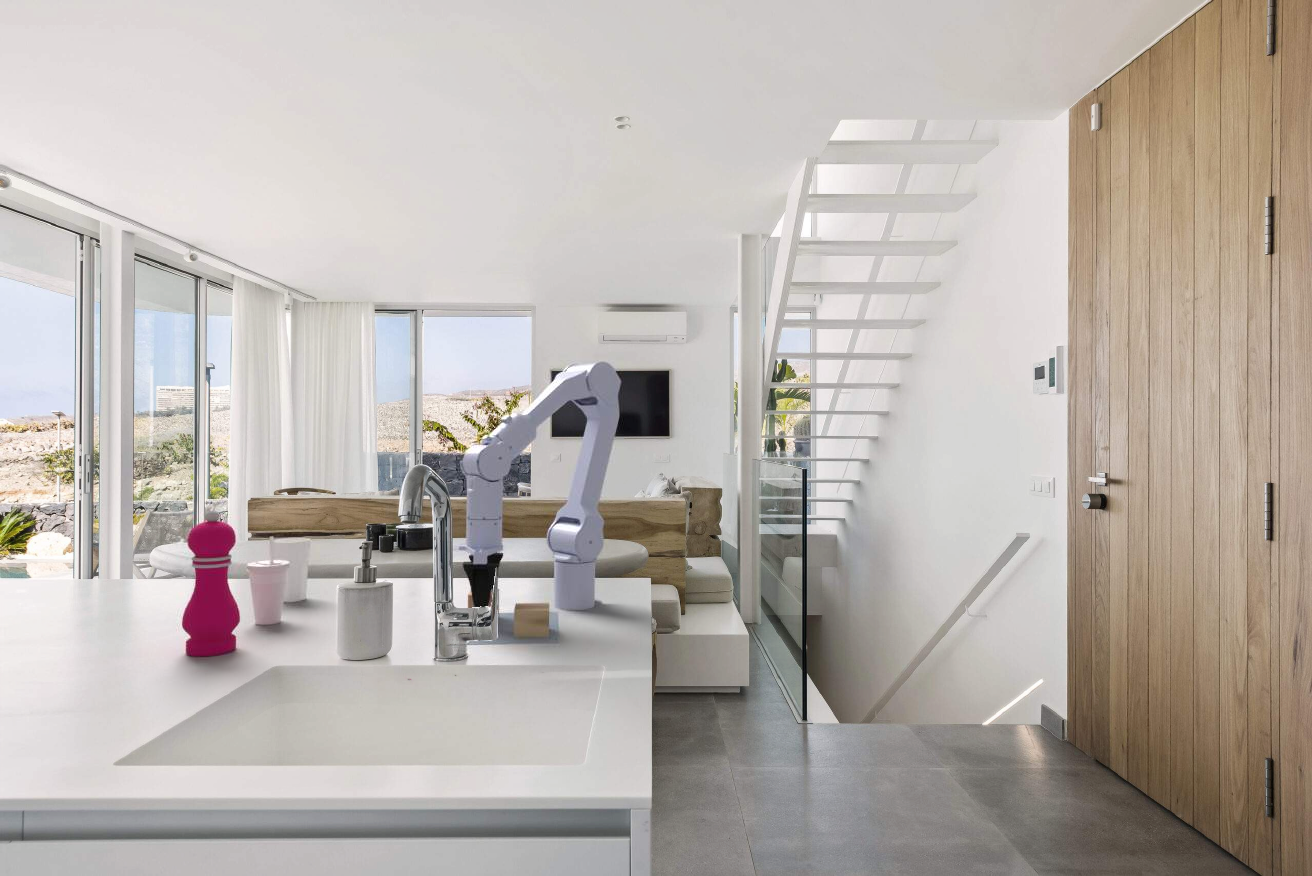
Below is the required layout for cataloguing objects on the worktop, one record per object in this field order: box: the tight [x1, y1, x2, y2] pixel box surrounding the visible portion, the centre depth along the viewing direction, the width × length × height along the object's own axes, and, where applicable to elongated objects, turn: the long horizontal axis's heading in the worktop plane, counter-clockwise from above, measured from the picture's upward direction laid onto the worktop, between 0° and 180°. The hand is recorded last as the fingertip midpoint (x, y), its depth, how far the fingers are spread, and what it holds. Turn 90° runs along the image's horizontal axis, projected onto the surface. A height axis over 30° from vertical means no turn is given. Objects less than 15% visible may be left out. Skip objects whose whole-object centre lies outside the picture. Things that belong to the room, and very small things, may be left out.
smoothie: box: [246, 536, 290, 626], centre depth 131 cm, size 6×6×14 cm
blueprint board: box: [466, 611, 560, 646], centre depth 126 cm, size 20×16×1 cm
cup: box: [273, 537, 311, 603], centre depth 149 cm, size 7×7×11 cm
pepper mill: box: [181, 509, 241, 658], centre depth 114 cm, size 7×7×20 cm
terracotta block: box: [467, 588, 500, 618], centre depth 131 cm, size 5×5×5 cm
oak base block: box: [513, 602, 550, 638], centre depth 123 cm, size 5×5×4 cm
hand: (483, 601), depth 131 cm, fingers open, 7 cm apart
